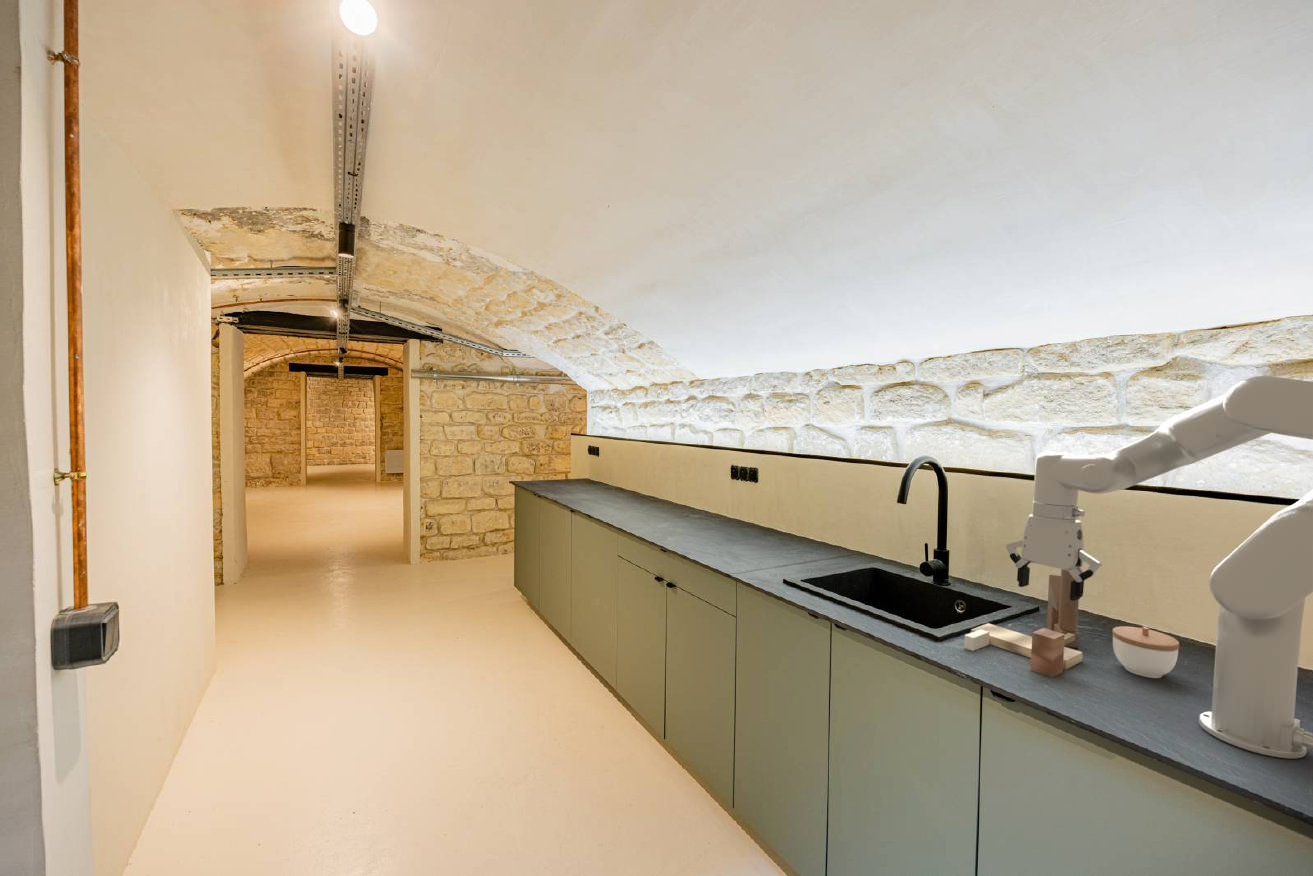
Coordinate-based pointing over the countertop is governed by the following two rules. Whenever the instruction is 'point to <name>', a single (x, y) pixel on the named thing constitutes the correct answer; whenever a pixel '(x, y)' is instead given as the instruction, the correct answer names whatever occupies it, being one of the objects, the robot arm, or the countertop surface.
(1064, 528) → the robot arm
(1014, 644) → the oak board
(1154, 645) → the lidded jar
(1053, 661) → the upright brown wood block
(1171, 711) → the countertop surface
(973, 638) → the end stop
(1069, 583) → the wooden block
